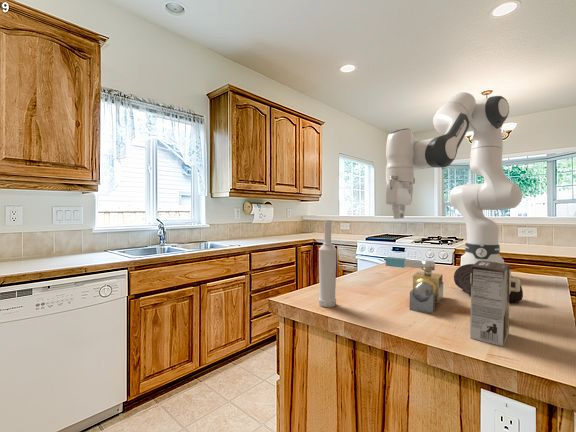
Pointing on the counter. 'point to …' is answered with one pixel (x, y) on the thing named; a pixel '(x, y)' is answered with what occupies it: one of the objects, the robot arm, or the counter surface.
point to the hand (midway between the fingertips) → (399, 218)
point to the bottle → (327, 269)
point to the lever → (410, 263)
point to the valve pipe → (426, 291)
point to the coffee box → (490, 302)
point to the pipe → (464, 282)
